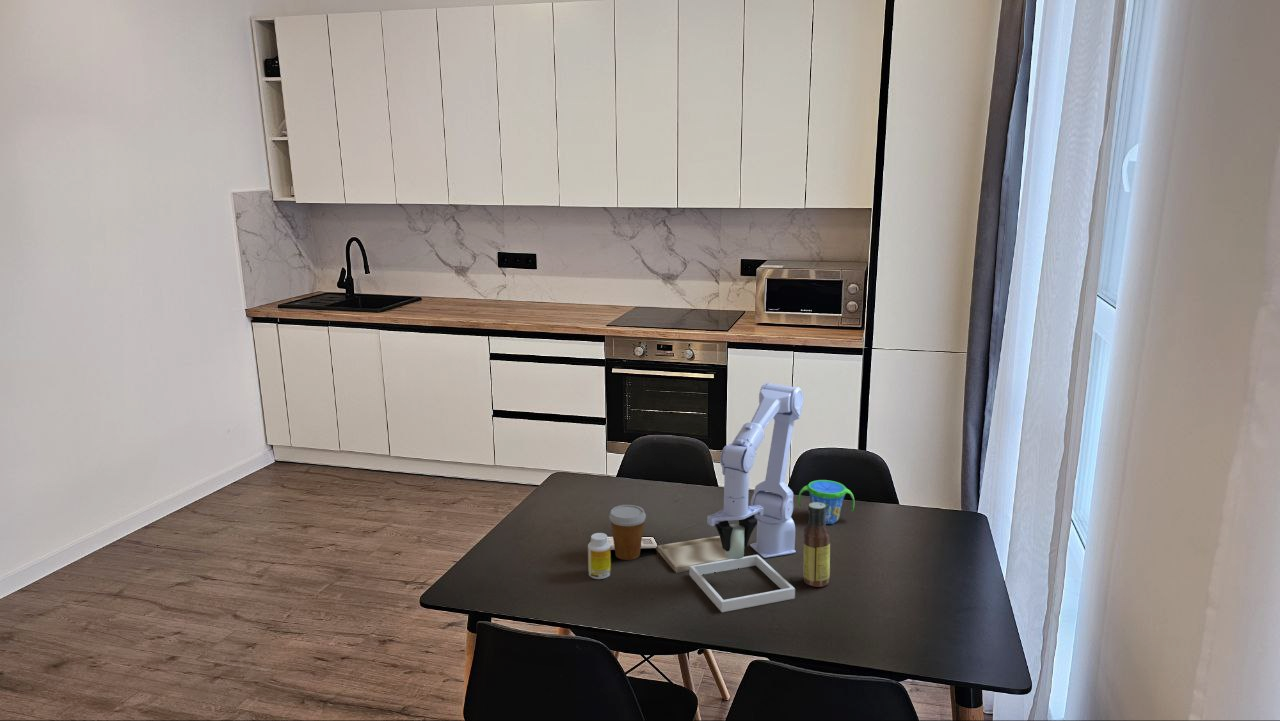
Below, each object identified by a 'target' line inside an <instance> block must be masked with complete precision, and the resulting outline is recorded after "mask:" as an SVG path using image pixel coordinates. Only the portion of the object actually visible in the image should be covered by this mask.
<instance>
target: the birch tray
mask: <svg viewBox="0 0 1280 721" xmlns="http://www.w3.org/2000/svg"><path fill="white" fill-rule="evenodd" d="M656 547H657V549H656V550H657V552H658V554H659V553H660V554H659V555H660V556H661V557H662V559H663V560H665V562H666V563H667V564H668V566H669V567H670V568H671V569H672V570H673V571H674V573H675V572H676V573H675V574H679V573H684V572H690V566H692V565H698V564H704V563H710V562H716V561H722V560H728V559H730V558H728V557H726V555H725V550H724V549H723V548H722V543H721V539H720V536H719V535H716V536H710V537H703V538H697V539H691V540H685V541H678V542H672V543H667V544H666V543H665V544H659V545H658V544H657V546H656Z"/></svg>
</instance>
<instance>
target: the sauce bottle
mask: <svg viewBox="0 0 1280 721" xmlns="http://www.w3.org/2000/svg"><path fill="white" fill-rule="evenodd" d="M807 510H808V523H807V524H806V525H805V527H804V529H803V556H802V557H803V562H802V563H803V565H802V568H803V569H802V571H803V573H802V575H803V580H804V583H805V584H806V585H808V586H810V587H814V588H821V587H822V588H823V587H825V586H828V584H829V582H830V576H831V574H830V573H831V563H830V562H831V540H830V539H831V538H830V535H831V533H830V531H829V528H828V526H827V524H825V511H826V506H825V504H823V503H819V502H813V503H810V502H809V504H808V509H807Z"/></svg>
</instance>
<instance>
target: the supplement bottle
mask: <svg viewBox="0 0 1280 721" xmlns="http://www.w3.org/2000/svg"><path fill="white" fill-rule="evenodd" d="M611 545H612V544H611V542H609V541H608V535H607V534H606V533H604V532H596V533H593V534H592V535H591V536H590V542H589V543H588V544H587V569H588V570H587V571H588V572H587V574H588V576H589V577H590V578H592V579H595V580H602V579H607V578H608V577H610V576H611V573H612V568H611V567H612V558H611V557H612V555H611V554H612V553H611V552H612V551H611Z"/></svg>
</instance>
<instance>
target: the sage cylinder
mask: <svg viewBox="0 0 1280 721" xmlns="http://www.w3.org/2000/svg"><path fill="white" fill-rule="evenodd" d="M729 525H730V526H731V527H733V530H732V533H731V538H730V550H729V551H725V555H726V557H728V558H730V559H741V558H743V557H745V556H744V555H745V547H744V533H745V528H744V527H743V526H742V525H739V523H731V524H730V523H729Z"/></svg>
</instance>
